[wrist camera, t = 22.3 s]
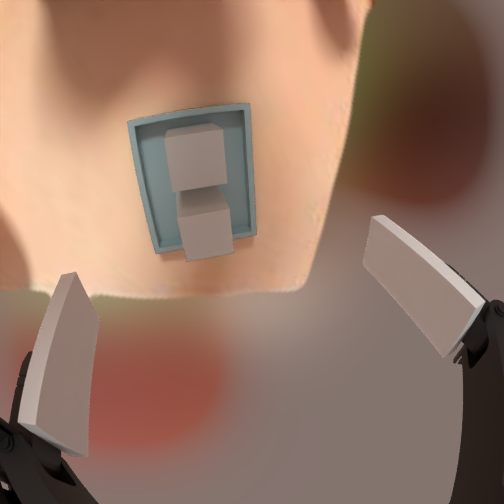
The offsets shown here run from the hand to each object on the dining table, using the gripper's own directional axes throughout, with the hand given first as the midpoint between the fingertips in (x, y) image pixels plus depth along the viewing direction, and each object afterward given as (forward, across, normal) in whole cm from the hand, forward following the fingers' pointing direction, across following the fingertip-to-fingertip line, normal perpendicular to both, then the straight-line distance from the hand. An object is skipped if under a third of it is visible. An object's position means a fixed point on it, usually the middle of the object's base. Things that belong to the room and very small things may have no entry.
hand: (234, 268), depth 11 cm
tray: (+29, 0, -4) cm, 29 cm away
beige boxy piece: (+28, 0, -9) cm, 30 cm away
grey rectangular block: (+28, 0, 0) cm, 28 cm away
